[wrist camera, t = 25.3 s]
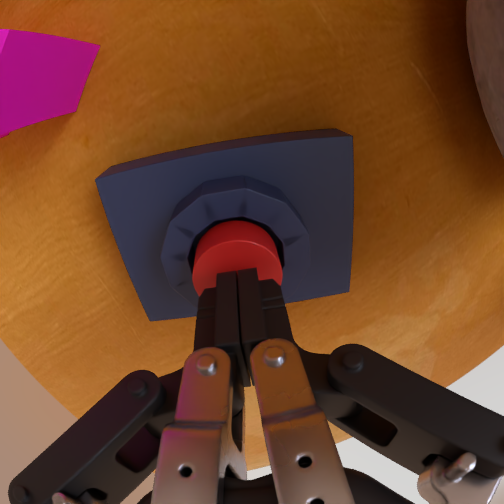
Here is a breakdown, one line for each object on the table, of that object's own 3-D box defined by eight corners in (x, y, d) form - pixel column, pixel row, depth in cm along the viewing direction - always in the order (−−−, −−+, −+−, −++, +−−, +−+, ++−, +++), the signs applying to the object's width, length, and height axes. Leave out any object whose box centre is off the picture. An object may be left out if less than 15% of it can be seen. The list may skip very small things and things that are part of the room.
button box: (155, 298, 19) (144, 343, 15) (110, 166, 14) (78, 193, 11) (338, 270, 19) (359, 312, 15) (336, 128, 14) (370, 143, 11)
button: (205, 293, 14) (203, 318, 13) (187, 227, 12) (181, 248, 11) (279, 282, 14) (285, 306, 13) (272, 213, 12) (279, 233, 11)
